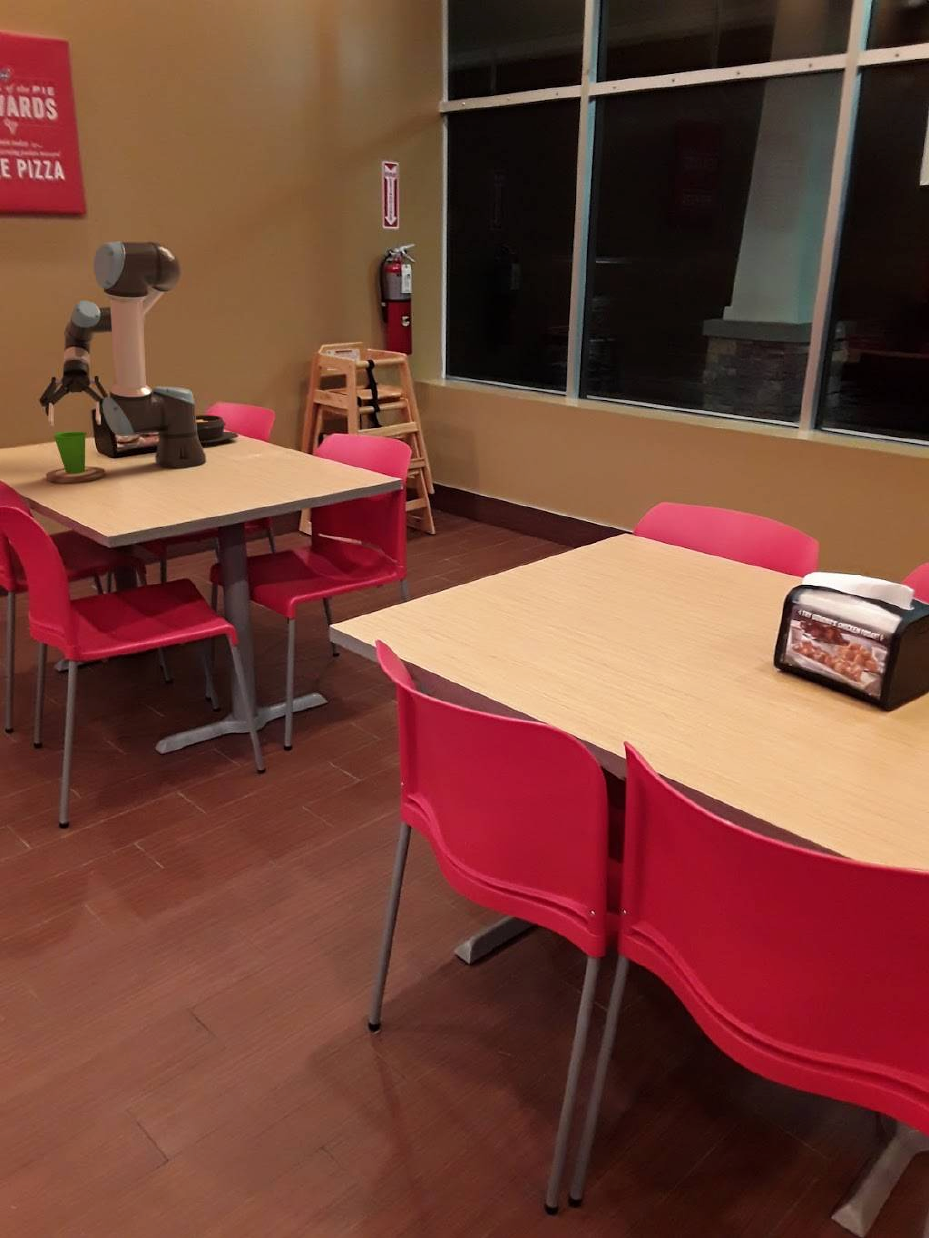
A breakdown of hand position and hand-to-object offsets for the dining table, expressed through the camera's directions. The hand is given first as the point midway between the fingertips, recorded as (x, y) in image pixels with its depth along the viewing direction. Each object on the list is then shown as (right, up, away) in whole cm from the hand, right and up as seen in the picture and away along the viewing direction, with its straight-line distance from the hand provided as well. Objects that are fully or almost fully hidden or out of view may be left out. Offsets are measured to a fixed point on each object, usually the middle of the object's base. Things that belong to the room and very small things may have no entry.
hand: (74, 422), depth 283 cm
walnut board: (+4, -18, -9) cm, 20 cm away
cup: (+4, -16, -9) cm, 19 cm away
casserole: (+27, +1, +40) cm, 48 cm away
